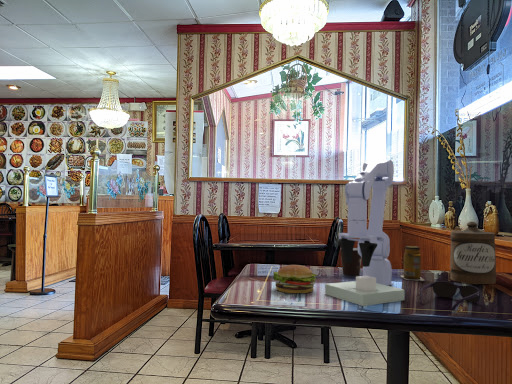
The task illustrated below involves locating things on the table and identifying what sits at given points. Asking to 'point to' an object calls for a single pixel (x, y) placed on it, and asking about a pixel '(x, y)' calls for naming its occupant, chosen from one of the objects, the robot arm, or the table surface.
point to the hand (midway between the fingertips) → (356, 264)
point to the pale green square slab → (364, 293)
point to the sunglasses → (454, 291)
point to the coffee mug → (352, 264)
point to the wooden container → (473, 256)
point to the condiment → (412, 263)
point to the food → (294, 279)
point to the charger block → (365, 283)
